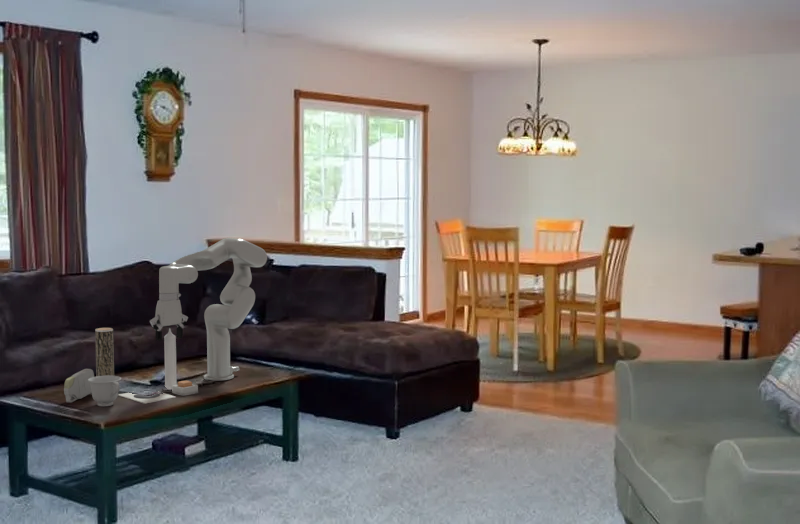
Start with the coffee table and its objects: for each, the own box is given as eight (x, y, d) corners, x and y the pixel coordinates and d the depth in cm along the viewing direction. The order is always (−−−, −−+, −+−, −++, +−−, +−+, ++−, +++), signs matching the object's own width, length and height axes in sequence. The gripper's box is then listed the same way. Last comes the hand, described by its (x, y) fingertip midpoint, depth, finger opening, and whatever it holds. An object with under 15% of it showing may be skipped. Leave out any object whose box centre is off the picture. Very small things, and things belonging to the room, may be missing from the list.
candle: (175, 391, 393) (174, 329, 390) (158, 390, 394) (157, 329, 392) (182, 387, 400) (181, 326, 397) (166, 386, 401) (165, 326, 399)
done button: (186, 385, 393) (186, 380, 393) (192, 386, 390) (192, 381, 390) (177, 386, 390) (177, 381, 390) (183, 388, 387) (183, 383, 387)
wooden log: (114, 388, 398) (113, 327, 395) (114, 392, 391) (112, 330, 388) (97, 389, 396) (95, 328, 393) (96, 393, 389) (94, 330, 387)
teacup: (104, 411, 360) (103, 384, 359) (82, 404, 370) (81, 378, 369) (132, 405, 369) (132, 379, 368) (110, 399, 379) (109, 373, 378)
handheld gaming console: (65, 407, 375) (90, 393, 388) (71, 408, 374) (96, 394, 387) (61, 379, 372) (87, 367, 386) (67, 380, 371) (93, 367, 385)
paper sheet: (149, 389, 395) (148, 388, 395) (175, 397, 382) (175, 396, 382) (117, 395, 385) (117, 394, 385) (144, 403, 372) (144, 402, 372)
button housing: (187, 390, 395) (187, 382, 395) (198, 392, 390) (197, 385, 390) (172, 393, 390) (172, 385, 390) (182, 395, 385) (182, 388, 385)
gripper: (181, 294, 402) (182, 335, 404) (145, 297, 390) (145, 340, 391) (192, 296, 397) (192, 338, 398) (155, 299, 384) (155, 342, 386)
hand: (169, 339), depth 395 cm, fingers open, 9 cm apart
